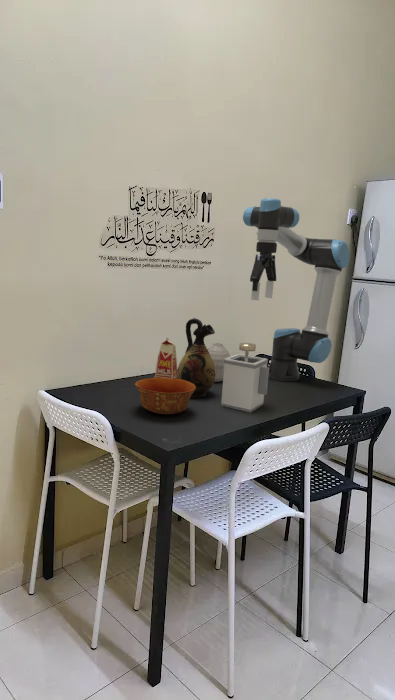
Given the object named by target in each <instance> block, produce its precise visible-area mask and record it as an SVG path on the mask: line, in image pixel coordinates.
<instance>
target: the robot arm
mask: <svg viewBox="0 0 395 700" xmlns="http://www.w3.org/2000/svg"><path fill="white" fill-rule="evenodd" d="M242 221H243V222H244V225H246V226H247V227H255V228H257V232H256V236H257V238H256V239H257V242H256V245H255V246H256V248H255V250H256V252H257V253H259V254H255V257H254V259H255V260H254V263H253V267H252V270H251V274H250V277H249V282H251V283H252V286H251V297H250V300H252V301H259V300H260V299H259V298H260V290H261V282H260V280H261V278H262V275H263V273H264V271H265V274H266V278H267V280H266V282H265V291H264V294H265V295H264V298H265V299H266V298H267V299H272V298H273V295H274V294H273V293H274V292H273V291H274V284H275V282H276V281H277V270H276V269H277V268H276V255H275V254H276V253H277V250H278V249H277V247H278V244H279V245H281V246H282V247H283V248H285V249H287V252H288V254H289V255H291V256H293V257H294V258H296V259H297V260H299V261H300V262H302V263H304V264H307V265H309V266H314V270H315V272H316V277H315V281H314V287H313V292H312V296H311V302H310V307H309V311H308V316H307V321H306V326H305V327H303V328H302V329H299V328H279V329H275V331H274V333H273V337H272V339H273V341H272V352H271V361H270V363H269V365H268V366H267V368H269V376H268V379H271V380H274V381H280V382H297V381H299V380H300V371H299V367H298V366H299V365H298V360H303V361H305V362H310V363H314V364H315V363H316V364H321V363H323V362H325V361H326V360H327V359H328V357H329V355H330V354H331V351H332V340H331V339H330V338H329V333H328V332H327V325H328V321H329V316H330V312H331V308H332V307H331V306H332V303H333V297H334V291H335V286H336V284H337V283H336V282H337V277H338V276H339V275H341V274H342V271H343V269H345V268H346V267H348V265H349V263H350V259H351V257H350V254H351V253H350V251H351V250H350V248H349V246H348V244H347V242H346V241H344V240H342V239H336V238H335V239H330V238H329V239H328V238H326V239H325V238H324V239H322V238H309V237H306V236H304V235H302V234H297V233H296V232H295V231H293V230H292V228H295V227H296V226H297V225H298V223H299V221H300V213H299V211H298V210H297V209H296V208H293V207H291V206H282V202H281V200H280V199H278V198H273V197H270V198H269V197H266V198H262V199H260V205H259V206H256V205H255V206H249V207H246V208H245V210H244V212H243V215H242ZM277 243H278V244H277ZM273 254H274V255H273Z"/></svg>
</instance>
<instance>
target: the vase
mask: <svg viewBox="0 0 395 700" xmlns="http://www.w3.org/2000/svg"><path fill="white" fill-rule="evenodd" d="M207 349H208V351H209V353H210V355H211V358H212V360H213V362H214V366H215V374H216V376H215V382H214V383H217V382H218V383H219V382H223V376H224V360H225V359H226V358H229V357H231V354H230V352H229V350H228V349H227V348H226V347H225V346H224V345H223V343H222V342H219V341H218V342H217V341H214V342H213V343H212V345H210V346H209V347H208V348H207Z"/></svg>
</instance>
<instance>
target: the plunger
mask: <svg viewBox="0 0 395 700" xmlns="http://www.w3.org/2000/svg"><path fill="white" fill-rule="evenodd" d="M238 345H239V348H238V349H239V351H242V352H244V353H245V354H244V355H245V362H248V356H249V352H256V349H257V348H256V344H255V343H251V342H240V343H239V344H238Z"/></svg>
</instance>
